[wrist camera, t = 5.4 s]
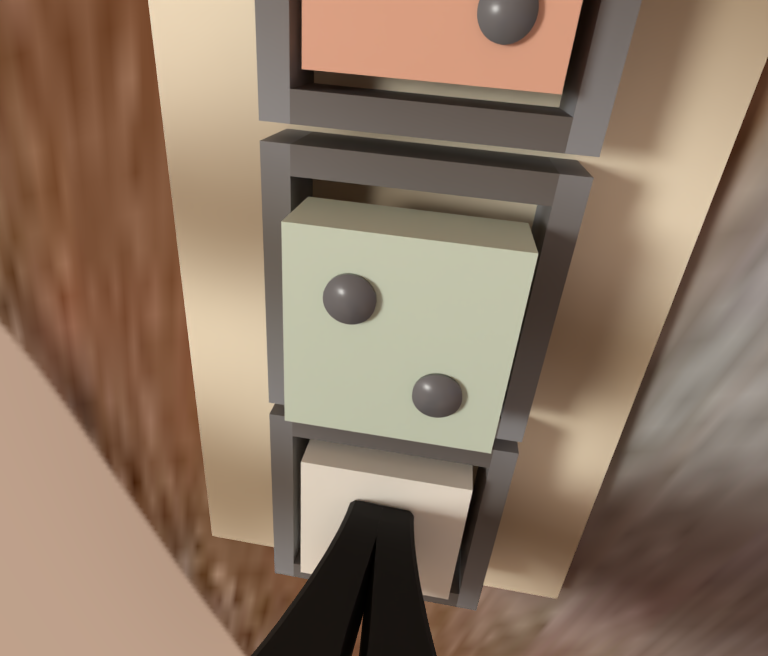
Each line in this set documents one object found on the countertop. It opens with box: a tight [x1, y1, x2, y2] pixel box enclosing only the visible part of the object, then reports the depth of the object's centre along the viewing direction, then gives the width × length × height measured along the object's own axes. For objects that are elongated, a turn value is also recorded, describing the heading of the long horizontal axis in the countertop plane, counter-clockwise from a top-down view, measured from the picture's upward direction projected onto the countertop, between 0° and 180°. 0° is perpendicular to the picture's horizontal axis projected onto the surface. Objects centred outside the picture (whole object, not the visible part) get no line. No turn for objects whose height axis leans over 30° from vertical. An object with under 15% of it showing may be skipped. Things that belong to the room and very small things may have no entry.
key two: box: [281, 197, 538, 454], centre depth 9 cm, size 4×4×2 cm
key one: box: [301, 439, 473, 599], centre depth 12 cm, size 4×4×2 cm
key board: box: [148, 0, 768, 610], centre depth 10 cm, size 18×10×2 cm, turn 175°
